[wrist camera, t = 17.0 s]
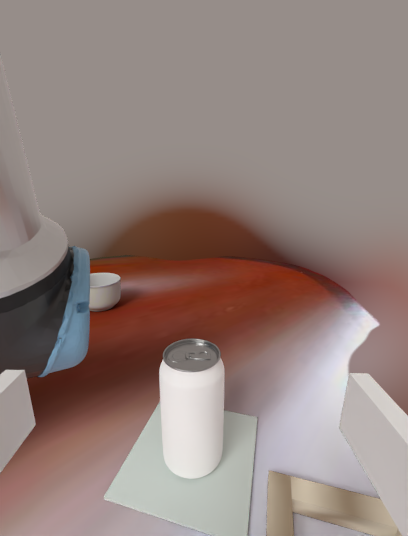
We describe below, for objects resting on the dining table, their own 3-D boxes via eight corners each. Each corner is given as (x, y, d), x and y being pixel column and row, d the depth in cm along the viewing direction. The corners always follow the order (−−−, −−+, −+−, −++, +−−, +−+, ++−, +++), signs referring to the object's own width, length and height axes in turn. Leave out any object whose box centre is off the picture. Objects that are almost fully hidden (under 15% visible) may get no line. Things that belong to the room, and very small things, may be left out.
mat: (104, 499, 24) (103, 496, 24) (162, 399, 36) (162, 397, 36) (246, 547, 20) (246, 544, 20) (257, 419, 33) (257, 417, 33)
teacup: (122, 298, 75) (120, 271, 73) (122, 312, 64) (119, 282, 62) (69, 303, 71) (65, 274, 69) (60, 319, 61) (55, 287, 59)
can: (165, 427, 31) (161, 337, 28) (219, 425, 31) (221, 335, 28) (159, 484, 25) (153, 375, 22) (226, 480, 25) (229, 372, 22)
